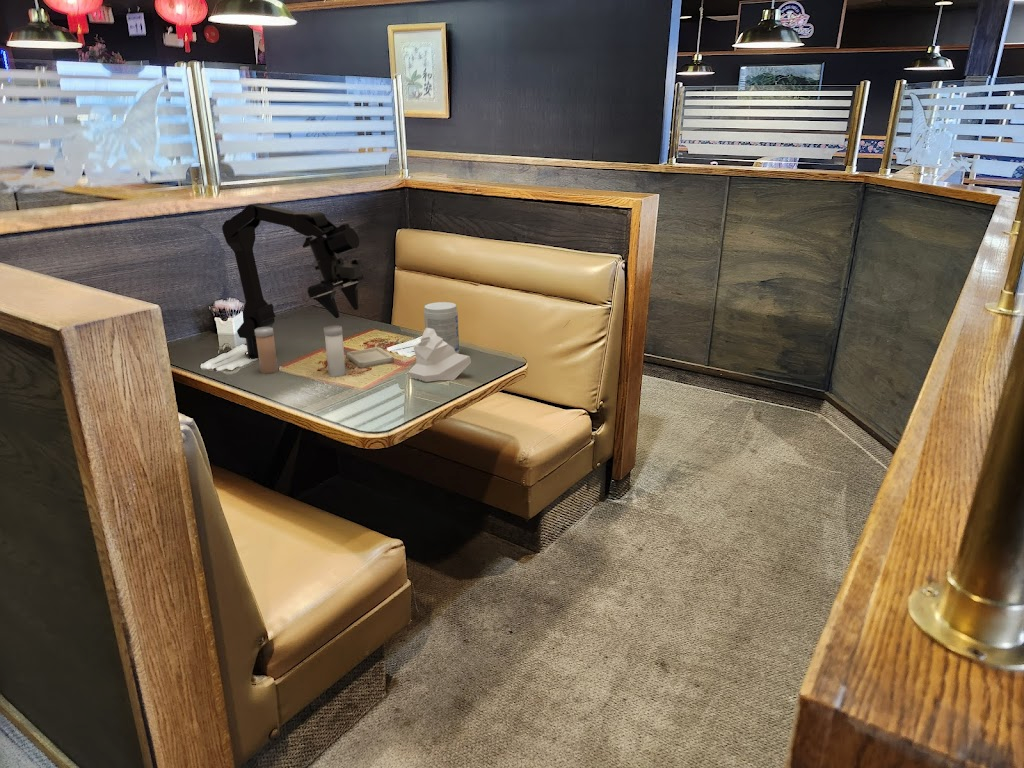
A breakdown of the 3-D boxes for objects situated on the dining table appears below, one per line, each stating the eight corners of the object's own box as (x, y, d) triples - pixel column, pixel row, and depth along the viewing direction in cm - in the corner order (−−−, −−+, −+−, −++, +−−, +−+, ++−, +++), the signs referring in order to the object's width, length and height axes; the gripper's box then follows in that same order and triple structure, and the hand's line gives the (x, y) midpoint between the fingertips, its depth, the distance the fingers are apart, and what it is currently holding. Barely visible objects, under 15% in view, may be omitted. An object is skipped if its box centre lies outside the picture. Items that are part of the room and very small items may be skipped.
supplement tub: (465, 355, 210) (463, 306, 205) (436, 361, 205) (433, 311, 200) (449, 347, 218) (447, 300, 213) (421, 353, 213) (418, 304, 208)
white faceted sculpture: (439, 393, 186) (422, 344, 180) (405, 383, 196) (388, 337, 190) (473, 370, 193) (458, 322, 186) (439, 362, 203) (424, 317, 197)
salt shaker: (326, 373, 197) (321, 327, 192) (342, 370, 199) (338, 324, 195) (331, 378, 193) (326, 331, 189) (348, 374, 195) (344, 328, 191)
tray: (346, 357, 210) (345, 352, 209) (378, 351, 215) (378, 346, 214) (360, 368, 200) (360, 363, 200) (394, 362, 205) (393, 357, 205)
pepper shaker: (258, 370, 200) (252, 328, 196) (275, 367, 202) (270, 325, 198) (262, 374, 196) (256, 332, 192) (280, 371, 198) (275, 329, 194)
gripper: (329, 256, 182) (351, 314, 185) (368, 245, 198) (388, 299, 202) (296, 268, 187) (318, 324, 190) (337, 256, 203) (357, 308, 207)
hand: (347, 313), depth 197 cm, fingers open, 9 cm apart
